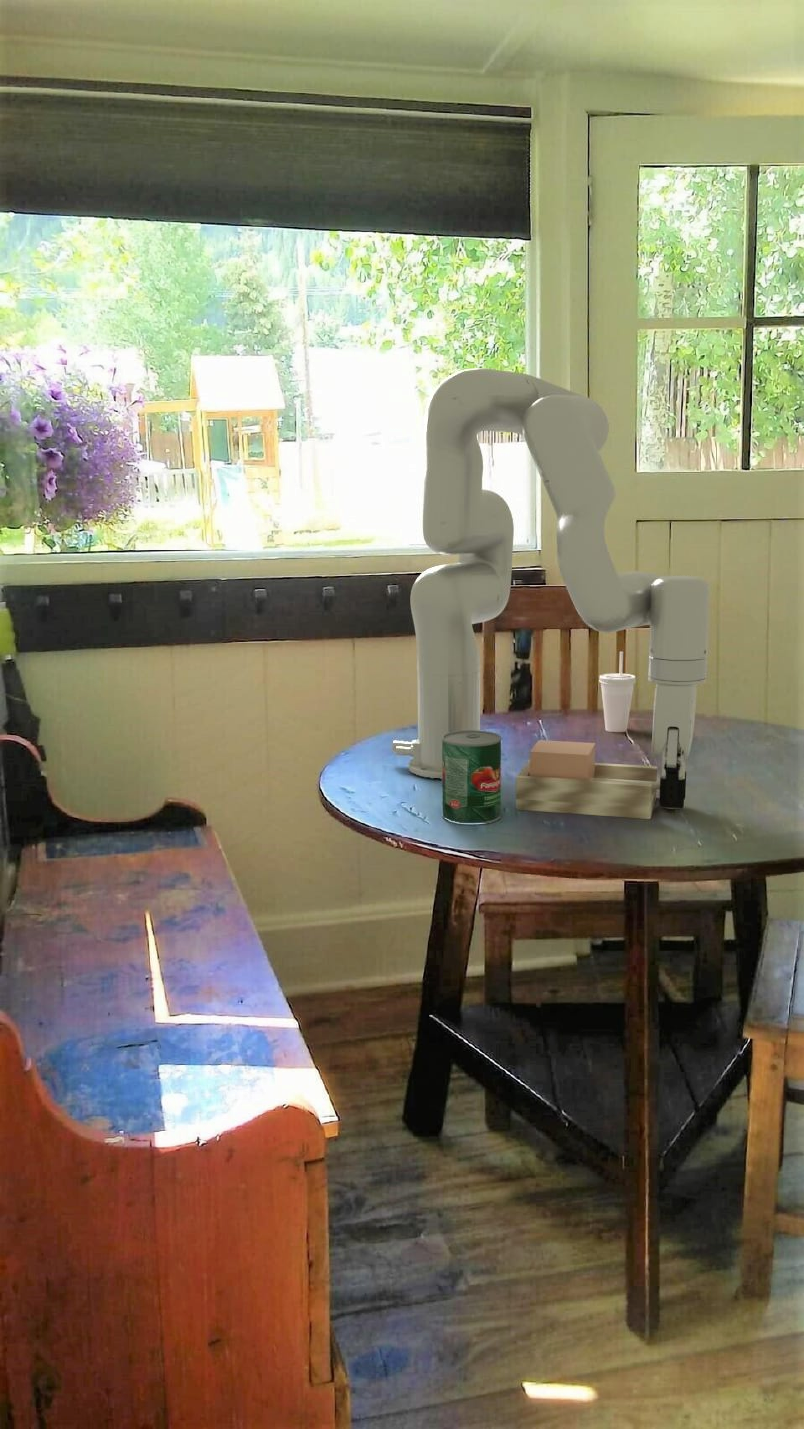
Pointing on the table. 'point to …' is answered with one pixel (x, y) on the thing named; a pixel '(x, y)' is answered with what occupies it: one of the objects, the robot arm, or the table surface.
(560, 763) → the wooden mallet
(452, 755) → the canned tomato
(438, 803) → the table surface
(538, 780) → the wooden tray
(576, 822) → the table surface
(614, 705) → the smoothie
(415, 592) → the robot arm
